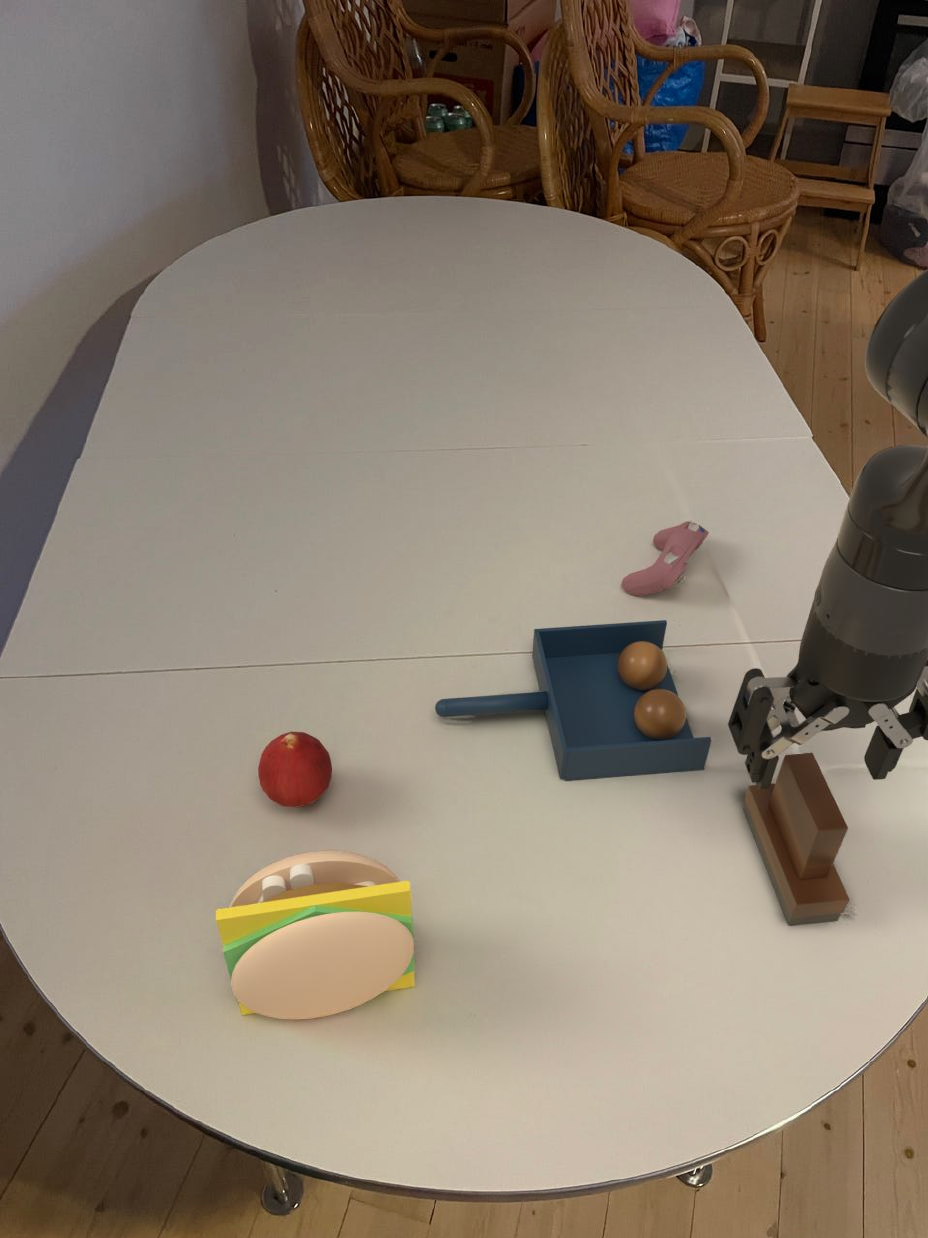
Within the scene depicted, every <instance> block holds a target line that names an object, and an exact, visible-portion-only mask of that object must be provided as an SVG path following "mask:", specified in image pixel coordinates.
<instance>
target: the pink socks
mask: <svg viewBox="0 0 928 1238" xmlns="http://www.w3.org/2000/svg"><path fill="white" fill-rule="evenodd" d="M708 536H709V531H708V530H706V528H704V527H703V526H702V525H700V524H698V523H695V522H694V521H693V520H690V521H689V520H688V521H684V522H682V523H680V524H678V525H675V526H671V527H667V528H664V529H661V530H659V531H658V532H657V533H655V534H654V536H653V538H652V543H653V545H654V547H655V548H657V549H658V550H660V551H661V552H660V554H659V556H658V557H657V559H656V560H655V562H654V563H653V564H652V565H650V566H649V567H646V568H644V569H641V570H638V571H634V572H631V573H628V574H627V575H626V576H624V577H623V579H622V581H621V587H622V589H623V591H624V592H626V593H627V594H629V595H633V596H649V595H654V594H656V593H659V592H662V591H666V590H668V589H670V587H671V586H673V585H674V584H676V585H675V586H676V587H678V586H680V585H682V584H683V583H684V582H685V579H686V575H683V573H684V571H685V569H686V568H687V566H688V563H687V561H688V559H689V558H690V557H691V556H692V554H694V553H695V552H696V551H698V549H699V548H700V547H701V546H702V545H703V543H704V541H705V540H706V539H707V537H708Z"/></svg>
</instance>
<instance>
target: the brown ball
mask: <svg viewBox="0 0 928 1238" xmlns="http://www.w3.org/2000/svg"><path fill="white" fill-rule="evenodd" d="M667 665H668V659H667V658H666V655H665V653H664V652H663V649H662V650H661V649H660V648H659V647H658V646H656V645H655V644H653V643H650V642H645V641H639V642H634V643H632V644H630V645H628V646H627V647H626V648H625V649H624V650H623V651H622V652H621V654H620V656H619V659H618V672H619V675H620V677H621V678H622V680H623V681H624V682H625V683H626V684H627V685H628V686H630V687H632V688H634V689H638V690H647V689H651V688H653V687H655V686H657V685H658V684H659V683H660V682H661V681H662V680H663V679H664V677H665V674H666V671H667Z"/></svg>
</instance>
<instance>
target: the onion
mask: <svg viewBox="0 0 928 1238" xmlns="http://www.w3.org/2000/svg"><path fill="white" fill-rule="evenodd" d="M260 754H261V755H260V758H259V763H258V766H257V771H258V773H257V774H258V779H259V784H260V788H261V789H262V791H263V793H264V794H265V795H266V797H267V798H268V799H269V800H270V801H272V802H274V803H276V804H278V805H280V806H282V807H288V808H298V807H299V808H300V807H306V806H309V805H310V804H312V803H314V802H317V801H319V799H320V798H321V797H322V796H323V795H324V794H325V792H326V791H327V790H328V789H329V786H330V783H331V780H332V775H333V766H332V759H331V755H330V752H329V751H328V750H327V748H326V747H325V746H324V744H323V743H322V742H321V741H320V740H319V738H317V737H315V736H313V735H311V734H309V733H307V732H304V731H288V732H285V733H282V734H280V735H278V736H277V737H275V738H273V739H272V740H270V742H269V743H268V744H267V745H266V746H265V748H264V749H263V750H262V753H260Z"/></svg>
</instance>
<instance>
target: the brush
mask: <svg viewBox="0 0 928 1238" xmlns="http://www.w3.org/2000/svg"><path fill="white" fill-rule="evenodd" d="M744 801H745V803H744V806H743V809H742V810H743V813H744V815H745V817H746V820H747V823H748V825H749V828H750V830H751V832H752V835H753V838H754V841H755V843H756V845H757V848H758V850H759V854H760V855H761V856H760V857H761V859H762V862H763V863H764V866H765V868H766V871H767V873H768V876H769V879H770V882H771V884H772V886H773V889H774V892H775V894H776V897H777V899H778V902H779V904H780V907H781V910H782V913H783V914H784V917H785V920H786V923H787V925H788V926H798V925H810V924H820V923H829V922H831V923H832V922H838V921H839V918H840V917H841V914H844V912H845V910H846V908H847V906H848V905H849V902H850V898H849V895H848V893H847V891H846V889H845V886H844V884H843V882H842V880H841V877H840V874H839V873H838V871H837V869H836V866H835V864H834V863H835V860H836V857H837V856H838V853H839V850H840V848H841V846H842V844H843V841H844V839H845V837H846V834H847V833H848V830H849V827H848V824H847V823H846V820H845V818H844V816H843V814H842V812H841V810H840V808H839V806H838V804H837V802H836V800H835V797H834V795H833V792H832V791H831V789H830V786H829V785H828V783H827V780H826V778H825V776H824V774H823V772H822V769H821V767H820V765H819V763H818V761H817V759H816V757H815V755H814V753H813V752H801V753H790V754H785V755H784V757H783V759H782V763H781V765H780V768H779V771H778V774H777V777H776V780H775V782H774V783H771V785H770V788H767V789H758V788H757V785H756V784H752V785H751V784H750V785H748V787H747V791H746V794H745V797H744Z"/></svg>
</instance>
